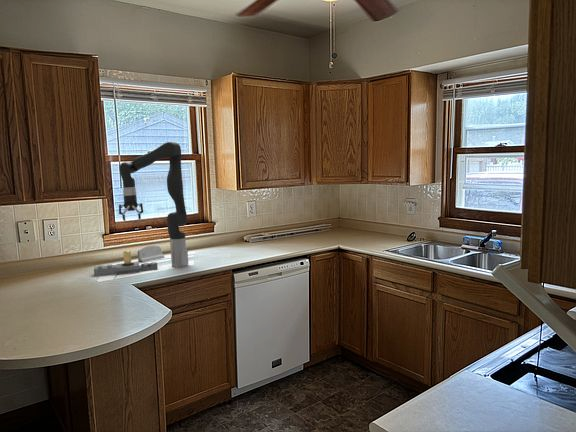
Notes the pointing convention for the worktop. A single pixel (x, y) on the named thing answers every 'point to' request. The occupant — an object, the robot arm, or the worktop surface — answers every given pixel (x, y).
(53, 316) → the worktop surface
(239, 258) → the worktop surface
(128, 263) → the brass pin
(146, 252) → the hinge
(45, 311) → the worktop surface
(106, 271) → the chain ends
